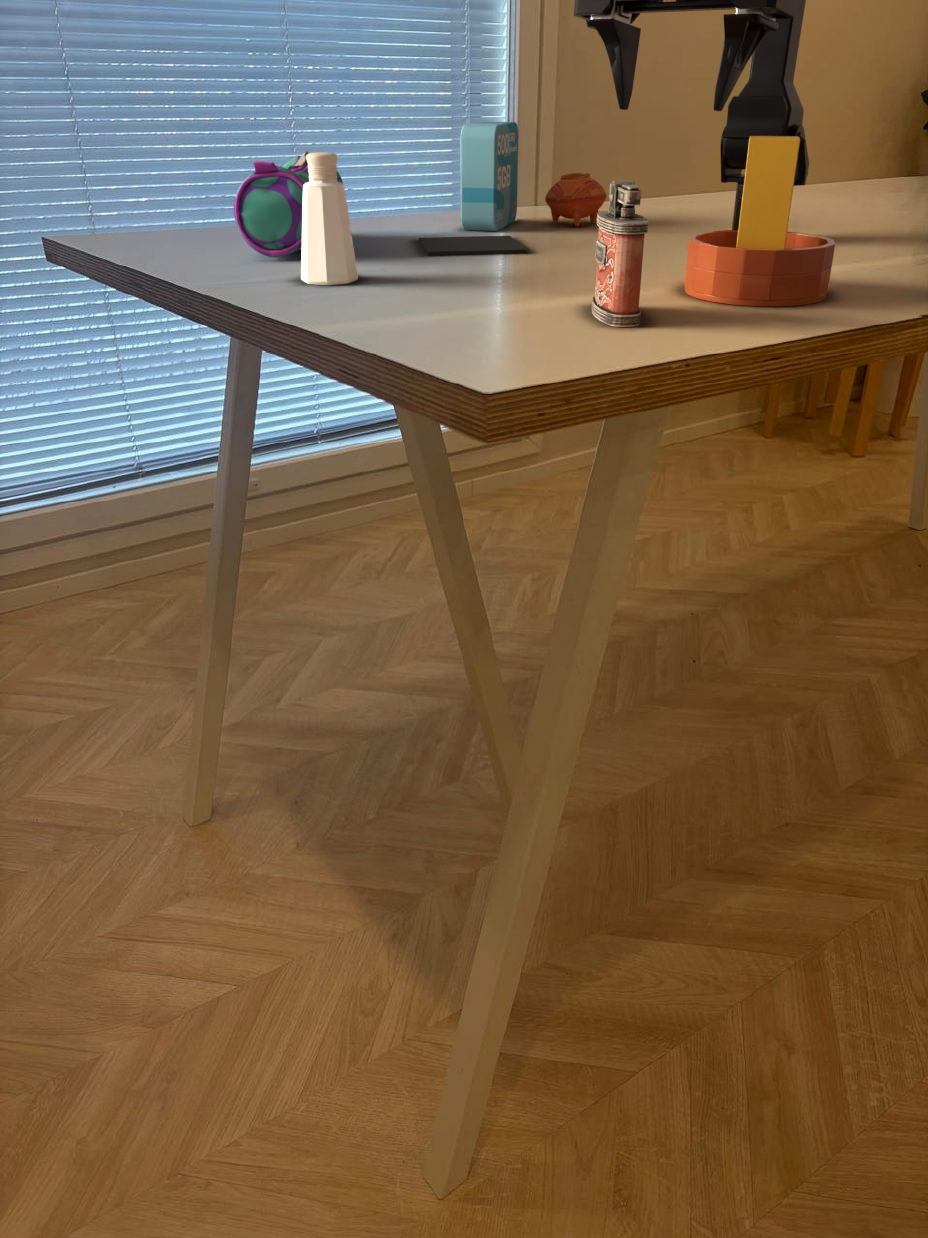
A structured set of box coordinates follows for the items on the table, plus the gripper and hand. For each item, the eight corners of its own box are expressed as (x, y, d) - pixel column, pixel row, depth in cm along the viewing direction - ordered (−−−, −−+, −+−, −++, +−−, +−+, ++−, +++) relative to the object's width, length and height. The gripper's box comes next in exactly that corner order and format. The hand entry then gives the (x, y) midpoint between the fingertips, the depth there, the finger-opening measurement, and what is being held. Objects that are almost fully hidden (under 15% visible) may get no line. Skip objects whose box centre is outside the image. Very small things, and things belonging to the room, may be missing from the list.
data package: (494, 232, 123) (496, 124, 118) (460, 231, 125) (459, 124, 119) (517, 220, 134) (519, 121, 128) (484, 219, 135) (485, 120, 129)
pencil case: (276, 234, 123) (268, 148, 118) (347, 234, 122) (342, 148, 118) (235, 261, 104) (224, 161, 100) (319, 261, 104) (312, 161, 99)
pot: (615, 224, 127) (606, 168, 124) (555, 240, 128) (545, 185, 124) (605, 214, 134) (596, 161, 130) (548, 230, 135) (538, 177, 131)
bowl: (719, 275, 96) (725, 226, 94) (845, 289, 89) (854, 236, 87) (660, 295, 87) (665, 241, 85) (794, 312, 81) (803, 254, 79)
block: (732, 281, 90) (749, 135, 85) (777, 283, 89) (798, 136, 84) (731, 289, 87) (749, 138, 81) (778, 291, 86) (800, 138, 80)
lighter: (584, 306, 83) (591, 176, 79) (624, 305, 84) (633, 176, 79) (604, 327, 76) (613, 186, 72) (648, 326, 77) (660, 185, 72)
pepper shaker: (326, 287, 91) (317, 155, 86) (289, 280, 95) (278, 153, 89) (369, 279, 95) (364, 152, 90) (332, 273, 98) (325, 150, 93)
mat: (418, 240, 117) (418, 237, 117) (509, 238, 119) (509, 235, 118) (427, 255, 108) (427, 251, 108) (527, 252, 109) (527, 249, 109)
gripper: (551, -111, 82) (535, 101, 89) (771, -136, 73) (736, 103, 79) (611, -80, 91) (593, 111, 97) (815, -99, 81) (781, 114, 88)
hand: (669, 109), depth 90 cm, fingers open, 9 cm apart
